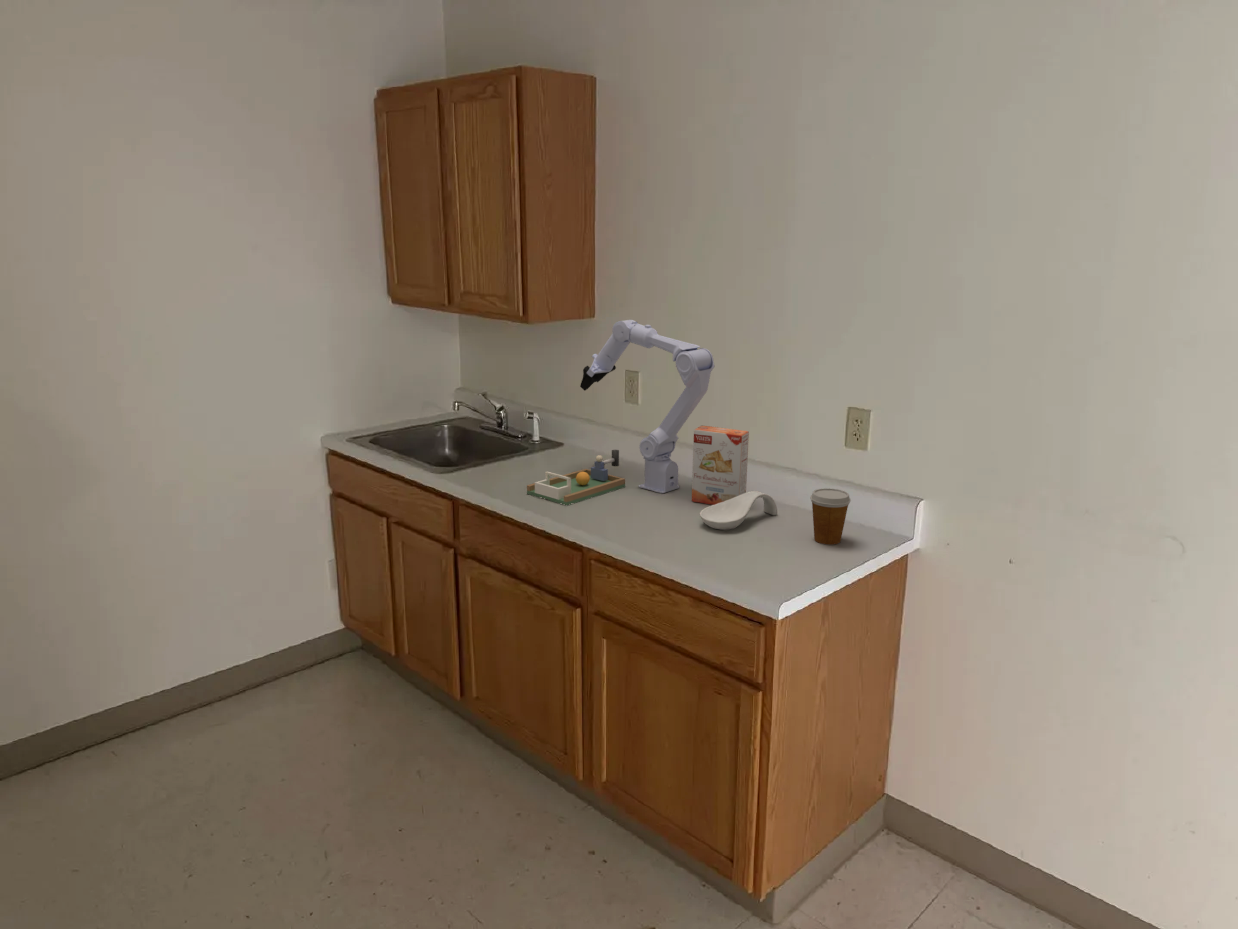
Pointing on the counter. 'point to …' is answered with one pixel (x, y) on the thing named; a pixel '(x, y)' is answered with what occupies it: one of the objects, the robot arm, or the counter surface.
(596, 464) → the striker
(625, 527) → the counter surface
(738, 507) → the spoon rest
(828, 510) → the disposable coffee cup
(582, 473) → the ball
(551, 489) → the pitch
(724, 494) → the cracker box
